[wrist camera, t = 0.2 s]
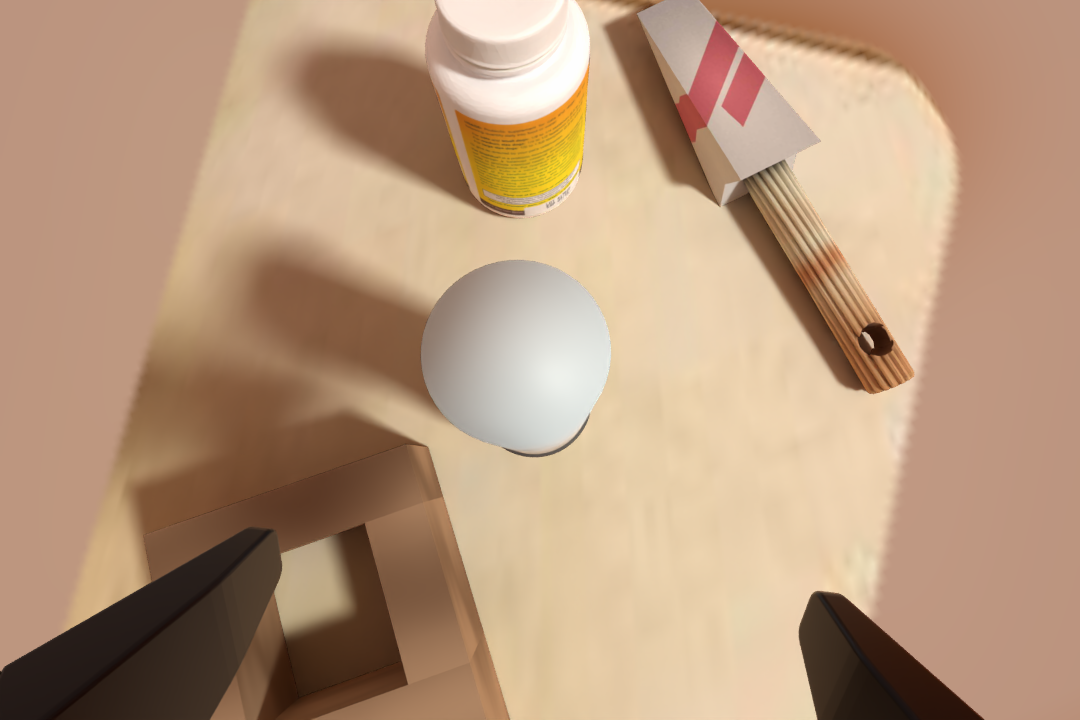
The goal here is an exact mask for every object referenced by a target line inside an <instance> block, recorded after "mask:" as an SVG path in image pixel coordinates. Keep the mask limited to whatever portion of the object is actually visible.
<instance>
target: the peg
mask: <svg viewBox="0 0 1080 720" xmlns="http://www.w3.org/2000/svg"><path fill="white" fill-rule="evenodd" d="M610 360H611V343H610V337H609V331H608V328H607V324H606V321H605V318H604V316H603V314H602V312H601V310H600V308H599V306H598V305H597V303H596V301H595V300H594V298H593V297H592V296H591V295H590V293H589V292H588V291H587V290H586V289H585V288H584V287H583V286H582V285H581V284H580V283H579V282H578V281H576V280H575V279H574V278H572V277H571V276H569V275H568V274H566V273H564V272H563V271H561V270H559V269H557V268H554V267H552V266H549V265H546V264H543V263H538V262H534V261H526V260H508V261H501V262H496V263H492V264H488V265H485V266H483V267H480V268H478V269H475V270H473V271H472V272H470V273H468V274H466V275H465V276H463V277H462V278H460V279H459V280H458V281H456V282H455V283H454V284H453V285H452V286H451V287H450V288H449V289H448V290H447V291H446V292H445V293H444V294H443V295H442V297H441V298H440V299H439V300H438V302H437V303H436V305H435V307H434V308H433V310H432V312H431V314H430V316H429V318H428V320H427V323H426V326H425V329H424V332H423V338H422V343H421V366H422V372H423V377H424V381H425V384H426V386H427V389H428V392H429V394H430V396H431V398H432V399H433V401H434V403H435V405H436V406H437V407H438V409H439V410H440V411H441V413H442V414H443V415H444V416H445V417H446V418H447V419H448V420H449V421H450V422H451V423H452V424H453V425H454V426H456V427H457V428H458V429H460V430H461V431H463V432H464V433H466V434H468V435H469V436H471V437H473V438H476V439H478V440H480V441H483V442H486V443H489V444H493V445H496V446H500V447H502V448H504V449H506V450H507V451H509V452H512V453H514V454H517V455H521V456H526V457H543V456H548V455H552V454H555V453H557V452H559V451H561V450H563V449H565V448H566V447H568V446H569V445H570V444H571V443H573V442H574V441H575V440H576V439H577V437H578V436H579V435H580V433H581V432H582V431H583V429H584V427H585V425H586V423H587V421H588V418H589V415H590V412H591V410H592V408H593V407H594V405H595V403H596V402H597V400H598V398H599V396H600V394H601V393H602V391H603V388H604V385H605V383H606V380H607V376H608V372H609V368H610Z"/></svg>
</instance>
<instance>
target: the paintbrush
mask: <svg viewBox="0 0 1080 720" xmlns="http://www.w3.org/2000/svg"><path fill="white" fill-rule="evenodd" d="M637 16H638V18H639V20H640V23H641V25H642V27H643V30H644V32H645V35H646V37H647V39H648V42H649V44H650V46H651V49H652V51H653V53H654V56H655V58H656V60H657V63H658V65H659V68H660V70H661V72H662V75H663V77H664V79H665V82H666V84H667V86H668V89H669V91H670V93H671V96H672V98H673V101H674V103H675V105H676V108H677V110H678V112H679V115H680V117H681V119H682V122H683V124H684V126H685V129H686V131H687V133H688V136H689V138H690V141H691V143H692V145H693V148H694V150H695V152H696V155H697V157H698V159H699V162H700V164H701V166H702V169H703V171H704V174H705V176H706V178H707V181H708V183H709V185H710V188H711V190H712V192H713V195H714V197H715V198H716V200H717V202H718V204H719V206H720V207H721V206H723V205H725V204H727V203H729V202H731V201H733V200H735V199H737V198H739V197H741V196H743V195H745V194H747V193H750V195H751V196H752V198H753V200H754V202H755V203H756V205H757V207H758V208H759V210H760V212H761V213H762V215H763V217H764V218H765V220H766V222H767V223H768V225H769V227H770V228H771V230H772V232H773V233H774V235H775V237H776V238H777V240H778V242H779V243H780V245H781V247H782V248H783V250H784V252H785V253H786V255H787V257H788V258H789V260H790V262H791V263H792V265H793V267H794V268H795V270H796V272H797V273H798V275H799V277H800V278H801V280H802V282H803V283H804V285H805V287H806V288H807V290H808V292H809V293H810V295H811V297H812V299H813V300H814V302H815V304H816V305H817V307H818V309H819V311H820V312H821V314H822V316H823V317H824V319H825V321H826V323H827V324H828V326H829V328H830V329H831V331H832V333H833V335H834V336H835V338H836V340H837V341H838V343H839V345H840V347H841V348H842V350H843V352H844V353H845V355H846V357H847V358H848V360H849V362H850V364H851V365H852V367H853V369H854V370H855V372H856V374H857V376H858V377H859V379H860V381H861V382H862V384H863V386H864V388H865V389H866V391H867V392H868V393H870V394H875V393H880V392H882V391H884V390H885V391H886V390H889V389H890V388H894V387H896V386H898V385H899V384H902V383H905V382H906V381H908V380H910V379H911V378H912V377H914V371H913V369H912V368H911V366H910V364H909V363H908V361H907V359H906V358H905V356H904V355H903V353H902V351H901V350H900V348H899V346H898V345H897V343H896V341H895V340H894V338H893V337H892V335H891V333H890V332H889V330H888V328H887V327H886V325H885V324H884V322H883V320H882V319H881V317H880V315H879V314H878V312H877V311H876V309H875V307H874V306H873V304H872V302H871V301H870V299H869V297H868V296H867V294H866V293H865V291H864V289H863V288H862V286H861V284H860V283H859V281H858V280H857V278H856V276H855V275H854V273H853V271H852V270H851V268H850V267H849V265H848V263H847V262H846V260H845V258H844V257H843V255H842V253H841V252H840V250H839V249H838V247H837V245H836V244H835V242H834V240H833V239H832V237H831V236H830V234H829V232H828V231H827V229H826V227H825V226H824V224H823V223H822V221H821V219H820V217H819V216H818V214H817V212H816V211H815V209H814V207H813V206H812V204H811V202H810V201H809V199H808V197H807V196H806V194H805V192H804V191H803V189H802V187H801V186H800V184H799V182H798V181H797V179H796V177H795V176H794V174H793V172H792V169H793V165H794V162H795V158H796V154H797V153H798V152H800V151H802V150H804V149H806V148H808V147H810V146H812V145H815V144H817V143H819V142H821V141H820V139H819V138H818V137H817V136H816V135H815V134H814V132H813V131H812V130H811V129H810V128H809V127H808V126H807V124H806V123H805V122H804V121H803V120H802V119H801V117H800V116H799V115H798V114H797V113H796V112H795V110H794V109H793V108H792V107H791V106H790V105H789V104H788V102H787V101H786V100H785V99H784V98H783V97H782V95H781V94H780V93H779V92H778V91H777V90H776V89H775V87H774V86H773V85H772V84H771V83H770V82H769V80H768V79H767V78H766V77H765V76H764V75H763V73H762V72H761V71H760V70H759V69H758V68H757V67H756V65H755V64H754V63H753V62H752V61H751V60H750V58H749V57H748V56H747V55H746V54H745V53H744V51H743V50H742V49H741V48H740V47H739V46H738V45H737V43H736V42H735V41H734V40H733V39H732V38H731V36H730V35H729V34H728V33H727V32H726V31H725V30H724V28H723V27H722V26H721V25H720V24H719V23H718V21H717V20H716V19H715V18H714V17H713V16H712V14H711V13H710V12H709V11H708V10H707V9H706V8H705V6H704V5H703V4H702V3H701V2H700V1H699V0H664V1H662V2H660V3H658V4H656V5H654V6H651V7H649V8H647V9H645V10H643V11H641V12H639V13H637ZM861 332H866V333H868V334H869V335H870V337H871V338H872V340H873V341H874V348H873V349H872V351H871V354H870V355H868V354H867V353H865V352H864V351H863V350H862V349H861V347H860V346H859V343H858V337H860V335H861Z"/></svg>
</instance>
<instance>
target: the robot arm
mask: <svg viewBox="0 0 1080 720" xmlns="http://www.w3.org/2000/svg"><path fill="white" fill-rule="evenodd" d="M281 571H282V561H281V554H280V547H279V541H278V535H277V532H276V531H275V530H274V529H272V528H267V527H258V526H250V527H248V528H246V529H244V530H242V531H240V532H238V533H237V534H235V535H233V536H231V537H230V538H228V539H226V540H225V541H223V542H221V543H219V544H218V545H216V546H214V547H212V548H211V549H209V550H207V551H205V552H204V553H202V554H200V555H198V556H197V557H195V558H193V559H191V560H190V561H188V562H186V563H184V564H183V565H181V566H179V567H177V568H176V569H174V570H172V571H170V572H169V573H167V574H165V575H163V576H162V577H160V578H158V579H157V580H155V581H153V582H151V583H150V584H148V585H146V586H144V587H143V588H141V589H139V590H137V591H136V592H134V593H132V594H130V595H129V596H127V597H125V598H123V599H122V600H120V601H118V602H116V603H115V604H113V605H111V606H109V607H108V608H106V609H104V610H102V611H101V612H99V613H97V614H95V615H94V616H92V617H90V618H89V619H87V620H85V621H83V622H82V623H80V624H78V625H76V626H75V627H73V628H71V629H69V630H68V631H66V632H64V633H62V634H61V635H59V636H57V637H55V638H54V639H52V640H50V641H48V642H47V643H45V644H43V645H42V646H40V647H38V648H36V649H34V650H33V651H31V652H29V653H27V654H26V655H24V656H22V657H21V658H19V659H17V660H15V661H14V662H12V663H10V664H8V665H7V666H5V667H4V668H3V670H2V672H1V671H0V720H210V719H211V717H212V715H213V714H214V712H215V710H216V708H217V707H218V705H219V703H220V701H221V700H222V698H223V696H224V694H225V693H226V691H227V689H228V687H229V686H230V684H231V682H232V680H233V678H234V677H235V675H236V673H237V671H238V669H239V667H240V665H241V663H242V661H243V659H244V657H245V655H246V653H247V650H248V648H249V646H250V644H251V641H252V639H253V637H254V635H255V633H256V630H257V628H258V626H259V624H260V621H261V619H262V617H263V615H264V612H265V610H266V608H267V606H268V603H269V601H270V599H271V597H272V595H273V592H274V590H275V588H276V586H277V583H278V581H279V579H280V575H281ZM799 641H800V646H801V650H802V655H803V659H804V663H805V668H806V672H807V676H808V681H809V685H810V689H811V694H812V698H813V702H814V707H815V711H816V715H817V720H984V719H983V718H982V717H981V716H980V715H979V714H978V713H976V712H975V711H974V710H973V709H972V708H971V707H969V706H968V705H967V704H966V703H965V702H964V701H963V700H961V699H960V698H959V697H958V696H957V695H956V694H955V693H954V692H952V691H951V690H950V689H949V688H948V687H947V686H946V685H945V684H943V683H942V682H941V681H940V680H939V679H938V678H937V677H935V676H934V675H933V674H932V673H931V672H930V671H929V670H928V669H926V668H925V667H924V666H923V665H922V664H921V663H920V662H918V661H917V660H916V659H915V658H914V657H913V656H912V655H910V654H909V653H908V652H907V651H906V650H905V649H904V648H903V647H901V646H900V645H899V644H898V643H897V642H896V641H895V640H893V639H892V638H891V637H890V636H889V635H888V634H887V633H885V632H884V631H883V630H882V629H881V628H880V627H879V626H877V625H876V624H875V623H874V622H873V621H872V620H871V619H870V618H868V617H867V616H866V615H865V614H864V613H863V612H862V611H860V610H859V609H858V608H857V607H856V606H855V605H854V604H852V603H851V602H850V601H849V600H848V599H847V598H846V597H844V596H843V595H841V594H838V593H833V592H824V591H815V592H814V593H813V594H812V595H811V597H810V599H809V602H808V604H807V607H806V610H805V612H804V615H803V618H802V620H801V623H800V626H799Z"/></svg>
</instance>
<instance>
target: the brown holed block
mask: <svg viewBox="0 0 1080 720" xmlns="http://www.w3.org/2000/svg"><path fill="white" fill-rule="evenodd" d="M364 524H365V526H366V530H367V534H368V537H369V541H370V545H371V548H372V552H373V556H374V560H375V563H376V567H377V571H378V574H379V578H380V582H381V585H382V589H383V593H384V597H385V600H386V604H387V608H388V611H389V615H390V619H391V622H392V626H393V630H394V634H395V637H396V641H397V645H398V648H399V652H400V656H401V659H402V661H401V662H398V663H395V664H392V665H390V666H387V667H384V668H381V669H378V670H376V671H373V672H370V673H367V674H364V675H362V676H359V677H356V678H353V679H350V680H348V681H345V682H342V683H339V684H336V685H334V686H331V687H328V688H325V689H322V690H320V691H317V692H314V693H311V694H308V695H306V696H303V697H300V698H298V694H297V689H296V685H295V681H294V677H293V672H292V668H291V664H290V659H289V655H288V651H287V647H286V642H285V638H284V634H283V629H282V625H281V621H280V617H279V612H278V608H277V604H276V599H275V595H274V592H273V595H272V597H271V599H270V601H269V603H268V606H267V608H266V610H265V612H264V615H263V617H262V619H261V621H260V624H259V626H258V628H257V630H256V633H255V635H254V637H253V639H252V641H251V644H250V646H249V648H248V650H247V653H246V655H245V657H244V659H243V661H242V663H241V665H240V667H239V669H238V671H237V673H236V675H235V677H234V678H233V680H232V682H231V684H230V686H229V687H228V689H227V691H226V693H225V694H224V696H223V698H222V700H221V701H220V703H219V705H218V707H217V708H216V710H215V712H214V714H213V715H212V717H211V719H210V720H510V718H509V715H508V712H507V708H506V705H505V702H504V698H503V695H502V692H501V688H500V685H499V682H498V678H497V675H496V672H495V668H494V665H493V662H492V658H491V655H490V652H489V648H488V645H487V642H486V638H485V635H484V632H483V628H482V625H481V622H480V618H479V615H478V612H477V608H476V605H475V602H474V598H473V595H472V592H471V588H470V585H469V582H468V578H467V575H466V572H465V568H464V565H463V562H462V558H461V555H460V552H459V548H458V545H457V542H456V538H455V535H454V532H453V528H452V525H451V522H450V518H449V515H448V512H447V508H446V505H445V502H444V498H443V495H442V492H441V488H440V485H439V482H438V478H437V475H436V472H435V468H434V465H433V462H432V458H431V455H430V452H429V448H428V447H424V446H417V445H409V444H405V445H402V446H399V447H396V448H393V449H390V450H387V451H385V452H382V453H379V454H376V455H373V456H370V457H367V458H364V459H361V460H359V461H356V462H353V463H350V464H347V465H344V466H341V467H338V468H335V469H333V470H330V471H327V472H324V473H321V474H318V475H315V476H312V477H309V478H307V479H304V480H301V481H298V482H295V483H292V484H289V485H286V486H283V487H281V488H278V489H275V490H272V491H269V492H266V493H263V494H260V495H257V496H255V497H252V498H249V499H246V500H243V501H240V502H237V503H234V504H231V505H229V506H226V507H223V508H220V509H217V510H214V511H211V512H208V513H205V514H203V515H200V516H197V517H194V518H191V519H188V520H185V521H182V522H179V523H177V524H174V525H171V526H168V527H165V528H162V529H159V530H156V531H153V532H151V533H148V534H145V535H143V537H144V542H145V547H146V552H147V558H148V563H149V568H150V573H151V578H152V582H153V581H155V580H157V579H158V578H160V577H162V576H163V575H165V574H167V573H169V572H170V571H172V570H174V569H176V568H177V567H179V566H181V565H183V564H184V563H186V562H188V561H190V560H191V559H193V558H195V557H197V556H198V555H200V554H202V553H204V552H205V551H207V550H209V549H211V548H212V547H214V546H216V545H218V544H219V543H221V542H223V541H225V540H226V539H228V538H230V537H231V536H233V535H235V534H237V533H238V532H240V531H242V530H244V529H246V528H248V527H250V526H258V527H267V528H272V529H274V530H275V531H276V532H277V535H278V541H279V547H280V554H281V553H284V552H287V551H289V550H292V549H295V548H298V547H301V546H304V545H307V544H309V543H312V542H315V541H318V540H321V539H324V538H327V537H329V536H332V535H335V534H338V533H341V532H344V531H347V530H350V529H352V528H355V527H358V526H361V525H364Z"/></svg>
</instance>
